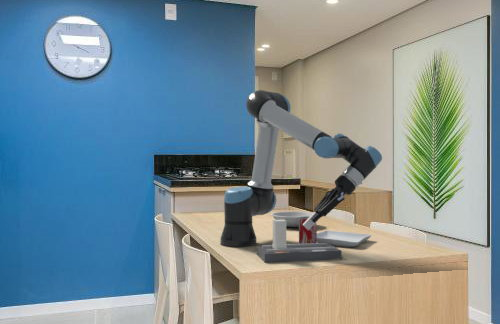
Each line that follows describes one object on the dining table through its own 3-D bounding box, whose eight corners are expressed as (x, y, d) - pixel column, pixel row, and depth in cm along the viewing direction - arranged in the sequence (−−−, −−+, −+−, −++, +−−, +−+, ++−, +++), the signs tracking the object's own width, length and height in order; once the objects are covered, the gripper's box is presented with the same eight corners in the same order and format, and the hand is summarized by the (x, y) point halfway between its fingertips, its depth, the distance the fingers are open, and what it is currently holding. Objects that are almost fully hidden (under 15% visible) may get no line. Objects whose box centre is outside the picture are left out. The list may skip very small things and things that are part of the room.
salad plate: (372, 241, 196) (372, 233, 196) (357, 250, 177) (357, 241, 177) (325, 237, 206) (325, 229, 206) (307, 244, 188) (307, 236, 188)
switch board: (256, 254, 168) (256, 244, 168) (328, 251, 173) (328, 241, 173) (264, 262, 155) (264, 251, 155) (341, 258, 161) (341, 248, 161)
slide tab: (272, 247, 166) (272, 219, 165) (282, 246, 166) (282, 219, 166) (276, 250, 160) (276, 221, 160) (287, 250, 160) (287, 221, 160)
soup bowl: (316, 230, 222) (316, 217, 222) (267, 229, 226) (267, 216, 226) (316, 223, 246) (316, 211, 246) (273, 222, 249) (273, 210, 249)
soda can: (307, 249, 177) (307, 219, 177) (295, 246, 183) (295, 217, 182) (320, 247, 181) (320, 217, 181) (308, 244, 187) (308, 215, 187)
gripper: (362, 189, 162) (318, 237, 159) (348, 187, 174) (306, 231, 172) (349, 174, 161) (303, 223, 158) (335, 173, 173) (293, 218, 171)
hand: (305, 227), depth 165 cm, fingers closed
